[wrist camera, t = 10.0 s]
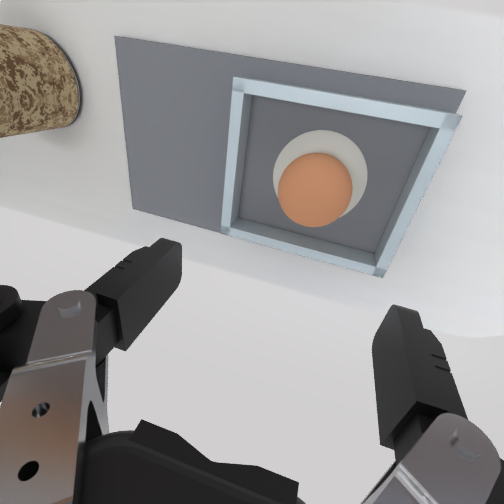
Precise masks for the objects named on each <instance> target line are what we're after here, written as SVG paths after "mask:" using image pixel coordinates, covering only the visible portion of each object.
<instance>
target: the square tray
mask: <svg viewBox="0 0 504 504" xmlns="http://www.w3.org/2000/svg"><path fill="white" fill-rule="evenodd" d="M252 95H257V96H263V97H268V98H274V99H280V100H285V101H291V102H296V103H302V104H307V105H313V106H318V107H324V108H329V109H335V110H340V111H346V112H352V113H357V114H363V115H368V116H374V117H379V118H385V119H390V120H396V121H401V122H407V123H412V124H418V125H424V126H429V127H431V128H430V130H429V132H428V135H427V137H426V139H425V141H424V144H423V146H422V148H421V150H420V153H419V155H418V157H417V159H416V162H415V164H414V166H413V168H412V171H411V173H410V175H409V177H408V180H407V182H406V184H405V186H404V189H403V191H402V193H401V195H400V198H399V200H398V202H397V204H396V207H395V209H394V211H393V213H392V216H391V218H390V220H389V222H388V224H387V227H386V229H385V231H384V233H383V236H382V238H381V240H380V242H379V245H378V247H377V249H376V251H375V254H373V253H369V252H365V251H362V250H358V249H354V248H350V247H346V246H343V245H339V244H335V243H331V242H327V241H324V240H320V239H316V238H312V237H308V236H305V235H301V234H297V233H293V232H289V231H285V230H282V229H278V228H274V227H270V226H266V225H263V224H259V223H255V222H251V221H247V220H244V219H240V218H238V212H239V203H240V195H241V186H242V178H243V169H244V161H245V152H246V143H247V135H248V126H249V118H250V109H251V101H252ZM461 118H462V116H461V115H458V114H455V113H452V112H447V111H441V110H435V109H429V108H423V107H417V106H412V105H406V104H400V103H394V102H388V101H382V100H376V99H370V98H365V97H359V96H353V95H347V94H341V93H335V92H329V91H323V90H318V89H312V88H306V87H300V86H294V85H288V84H282V83H276V82H270V81H265V80H259V79H253V78H247V77H233V86H232V98H231V110H230V122H229V135H228V147H227V159H226V171H225V183H224V195H223V207H222V219H221V231H220V233H221V234H225V235H229V236H232V237H236V238H240V239H243V240H247V241H250V242H254V243H258V244H261V245H265V246H269V247H272V248H276V249H279V250H283V251H287V252H290V253H294V254H298V255H301V256H305V257H308V258H312V259H316V260H319V261H323V262H327V263H330V264H334V265H337V266H341V267H345V268H348V269H352V270H356V271H359V272H363V273H366V274H370V275H374V276H377V277H381V278H383V276H384V274H385V272H386V270H387V268H388V266H389V264H390V262H391V260H392V258H393V256H394V254H395V252H396V250H397V248H398V246H399V244H400V242H401V240H402V238H403V236H404V234H405V232H406V230H407V227H408V225H409V223H410V221H411V219H412V217H413V215H414V213H415V211H416V209H417V207H418V205H419V203H420V201H421V199H422V197H423V195H424V193H425V191H426V189H427V187H428V185H429V183H430V181H431V179H432V177H433V175H434V173H435V171H436V169H437V166H438V164H439V162H440V160H441V158H442V156H443V154H444V152H445V150H446V148H447V146H448V144H449V142H450V140H451V138H452V136H453V134H454V132H455V130H456V128H457V126H458V124H459V122H460V120H461ZM308 153H325V154H329V155H331V156H333V157H335V158H337V159H338V160H339V161H341V162H342V163H343V164H344V165H345V167H346V168H347V170H348V172H349V174H350V176H351V180H352V188H353V190H352V197H351V200H350V203H349V205H348V207H347V209H346V210H345V212H344V213H343V214H342V215H341V216H340V217H342V216H343V215H345V214H347V213H348V212H349V211H351V210H352V209H353V208H354V207H355V206H356V204H357V203H358V202H359V201H360V199H361V197H362V195H363V193H364V191H365V188H366V184H367V165H366V161H365V158H364V156H363V154H362V152H361V151H360V149H359V147H358V146H357V145H356V144H355V143H354V142H353V141H352V140H350V139H349V138H348V137H346V136H344V135H342V134H340V133H338V132H334V131H330V130H315V131H310V132H306V133H304V134H301V135H299V136H298V137H296V138H294V139H293V140H292V141H290V142H289V143H288V144H287V145H286V146H285V147H284V148H283V150H282V151H281V153H280V154H279V156H278V158H277V160H276V163H275V166H274V171H273V184H274V189H275V192H276V195H277V197H278V184H279V180H280V178H281V175H282V173H283V171H284V170H285V168H286V167H287V166H288V165H289V164H290V163H291V162H292V161H293V160H295V159H296V158H298V157H300V156H302V155H305V154H308Z"/></svg>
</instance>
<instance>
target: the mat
mask: <svg viewBox="0 0 504 504" xmlns="http://www.w3.org/2000/svg"><path fill="white" fill-rule="evenodd" d="M115 46H116V55H117V65H118V74H119V83H120V93H121V102H122V112H123V121H124V131H125V140H126V150H127V159H128V168H129V178H130V187H131V197H132V206H133V209H136V210H139V211H143V212H147V213H150V214H154V215H158V216H161V217H165V218H168V219H172V220H176V221H179V222H183V223H187V224H190V225H194V226H197V227H201V228H205V229H208V230H212V231H216V232H219V233H220V231H221V219H222V207H223V195H224V183H225V171H226V159H227V147H228V135H229V122H230V110H231V98H232V86H233V77H247V78H253V79H259V80H265V81H270V82H276V83H282V84H288V85H294V86H300V87H306V88H312V89H318V90H323V91H329V92H335V93H341V94H347V95H353V96H359V97H365V98H370V99H376V100H382V101H388V102H394V103H400V104H406V105H412V106H417V107H423V108H429V109H435V110H441V111H447V112H452V113H455V114H456V111H457V109H458V107H459V105H460V103H461V101H462V99H463V97H464V95H465V93H466V91H465V90H458V89H452V88H446V87H439V86H433V85H426V84H420V83H414V82H407V81H401V80H394V79H388V78H382V77H375V76H369V75H362V74H356V73H350V72H343V71H337V70H331V69H324V68H318V67H311V66H305V65H299V64H292V63H286V62H279V61H273V60H267V59H260V58H254V57H247V56H241V55H235V54H228V53H222V52H215V51H209V50H203V49H196V48H190V47H183V46H177V45H171V44H164V43H158V42H152V41H145V40H139V39H132V38H126V37H120V36H115ZM430 128H431V127H429V126H424V125H418V124H412V123H407V122H401V121H396V120H390V119H385V118H379V117H374V116H368V115H363V114H357V113H352V112H346V111H340V110H335V109H329V108H324V107H318V106H313V105H307V104H302V103H296V102H291V101H285V100H280V99H274V98H268V97H263V96H257V95H252V101H251V109H250V118H249V126H248V135H247V143H246V152H245V161H244V169H243V178H242V186H241V195H240V203H239V212H238V218H240V219H244V220H247V221H251V222H255V223H259V224H263V225H266V226H270V227H274V228H278V229H282V230H285V231H289V232H293V233H297V234H301V235H305V236H308V237H312V238H316V239H320V240H324V241H327V242H331V243H335V244H339V245H343V246H346V247H350V248H354V249H358V250H362V251H365V252H369V253H373V254H375V251H376V249H377V247H378V245H379V242H380V240H381V238H382V236H383V233H384V231H385V229H386V227H387V224H388V222H389V220H390V218H391V216H392V213H393V211H394V209H395V207H396V204H397V202H398V200H399V198H400V195H401V193H402V191H403V189H404V186H405V184H406V182H407V180H408V177H409V175H410V173H411V171H412V168H413V166H414V164H415V162H416V159H417V157H418V155H419V153H420V150H421V148H422V146H423V144H424V141H425V139H426V137H427V135H428V132H429V130H430ZM315 130H330V131H334V132H338V133H340V134H342V135H344V136H346V137H348V138H349V139H350V140H352V141H353V142H354V143H355V144H356V145H357V146H358V147H359V149H360V151H361V152H362V154H363V156H364V158H365V161H366V165H367V184H366V188H365V191H364V193H363V195H362V197H361V199H360V201H359V202H358V203H357V204H356V206H355V207H354V208H353V209H352V210H351V211H349V212H348V213H347V214H345V215H343V216H342V217H339V218H338V219H336V220H335V221H333V222H332V223H330V224H328V225H325V226H321V227H307V226H303V225H300V224H298V223H296V222H294V221H292V220H291V219H290V218H289V217H288V216H287V215H286V214H285V213H284V211H283V210H282V208H281V205H280V203H279V199H278V197H277V195H276V192H275V189H274V184H273V171H274V166H275V163H276V160H277V158H278V156H279V154H280V153H281V151H282V150H283V148H284V147H285V146H286V145H287V144H288V143H289V142H290V141H292V140H293V139H294V138H296V137H298V136H299V135H301V134H304V133H306V132H310V131H315Z"/></svg>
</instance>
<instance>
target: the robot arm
mask: <svg viewBox="0 0 504 504" xmlns="http://www.w3.org/2000/svg"><path fill="white" fill-rule="evenodd" d="M181 276H182V246H181V244H180V243H178V242H175V241H171V240H168V239H164V238H160V239H159V240H158V241H156V242H155V243H154V244H153V245H152V246H150V247H146V246H145V247H143V248H140V249H138V250H135V251H133V252H132V253H130V254H129V255H128V256H127V257H125V258H124V259H123V261H120V262H119V263H118V264H117V265H116V266H115V267H113V268H112V269H111V270H109V271H108V272H107V273H106V274H104V275H103V276H102V277H101V278H99V279H98V280H97V281H96V282H94V283H93V284H92V285H91V286H89V287H88V288H87V289H86V290H84V291H82V290H73V291H67V292H64V293H60V294H58V295H56V296H54V297H52V298H51V299H49V300H48V301H29V300H21V299H20V297H19V294H18V292H17V290H16V289H15V288H13V287H11V286H7V285H0V402H1V401H2V403H1V406H0V504H305V503H304V502H303V501H302V500H301V499H300V498H298V497H297V493H298V485H299V483H298V482H296V481H294V480H291V479H289V478H286V477H283V476H281V475H279V474H276V473H274V472H271V471H269V470H266V469H264V468H261V467H259V466H253V465H241V464H229V463H217V462H213V461H210V460H209V459H208V458H206V457H205V456H204V455H203V454H201V453H200V452H199V451H198V450H197V449H195V448H194V447H193V446H192V445H191V444H189V443H188V442H187V441H186V440H184V439H183V438H182V437H181V436H179V435H178V434H177V433H174V432H172V431H169V430H166V429H164V428H162V427H159V426H156V425H154V424H152V423H149V422H147V421H144V420H141V421H140V423H139V424H138V426H137V428H136V429H135V431H118V432H113V433H109V426H108V416H107V387H108V353H109V352H110V351H111V350H112V349H113V348H114V347H115V348H118V349H121V350H124V351H126V350H127V349H128V348H129V347H130V345H131V344H132V343H133V341H134V340H135V339H136V338H137V336H138V335H139V334H140V333H141V332H142V331H143V329H144V328H145V327H146V326H147V324H148V323H149V322H150V321H151V320H152V318H153V317H154V316H155V314H156V313H157V312H158V311H159V310H160V308H161V307H162V306H163V305H164V304H165V302H166V301H167V300H168V299H169V297H170V296H171V295H172V294H173V293H174V291H175V290H176V289H177V287H178V285H179V283H180V280H181ZM372 357H373V368H374V379H375V390H376V401H377V413H378V424H379V436H380V445H382V446H385V447H388V448H390V449H393V450H394V451H395V459H396V461H395V462H394V463H393V464H392V465H391V466H390V467H389V469H388V470H387V471H386V472H385V474H384V475H383V476H382V477H381V479H380V480H379V481H378V482H377V484H376V485H375V486H374V487H373V489H372V490H371V491H370V492H369V494H368V495H367V496H366V497H365V498H364V500H363V501H362V502H361V504H504V461H503V460H502V459H500V457H499V455H498V452H497V450H496V448H495V447H494V445H493V444H492V442H491V441H490V439H489V438H488V437H487V436H486V435H485V434H484V433H483V431H482V430H480V429H479V428H478V427H477V426H476V425H474V424H473V423H472V422H470V421H469V420H468V418H467V415H466V413H465V410H464V407H463V404H462V402H461V398H460V396H459V393H458V390H457V387H456V384H455V381H454V378H453V376H452V373H450V367H449V364H448V362H447V361H446V356H445V353H444V350H443V347H442V344H441V343H440V342H439V341H438V339H437V338H436V337H435V335H434V334H433V333H432V332H431V330H427V329H424V328H423V325H422V322H421V318H420V315H419V313H418V312H417V311H415V310H412V309H408V308H405V307H401V306H397V305H392V306H391V307H390V309H389V311H388V312H387V314H386V316H385V318H384V320H383V322H382V323H381V325H380V327H379V329H378V330H377V332H376V334H375V336H374V340H373V345H372Z"/></svg>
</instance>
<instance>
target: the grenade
mask: <svg viewBox="0 0 504 504" xmlns="http://www.w3.org/2000/svg"><path fill="white" fill-rule="evenodd" d="M79 106H80V90H79V85H78V81H77V78H76V75H75V72H74V70H73V68H72V66H71V64H70V62H69V61H68V59H67V58H66V56H65V55H64V53H63V52H62V51H61V49H60V48H59V47H58V46H57V45H56V44H55V43H54V42H53V41H52V40H51V39H50V38H48V37H47V36H46V35H44V34H43V33H41V32H38V31H36V30H32V29H27V28H20V27H13V26H7V25H0V138H1V137H7V136H13V135H19V134H25V133H31V132H37V131H43V130H49V129H55V128H61V127H65V126H68V125H70V124H71V123H72V122H73V121H74V119H75V118H76V116H77V114H78V110H79Z"/></svg>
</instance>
